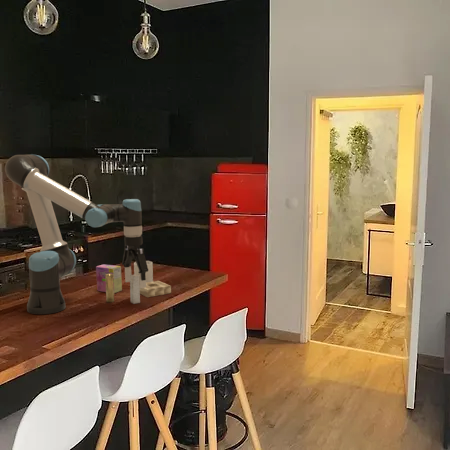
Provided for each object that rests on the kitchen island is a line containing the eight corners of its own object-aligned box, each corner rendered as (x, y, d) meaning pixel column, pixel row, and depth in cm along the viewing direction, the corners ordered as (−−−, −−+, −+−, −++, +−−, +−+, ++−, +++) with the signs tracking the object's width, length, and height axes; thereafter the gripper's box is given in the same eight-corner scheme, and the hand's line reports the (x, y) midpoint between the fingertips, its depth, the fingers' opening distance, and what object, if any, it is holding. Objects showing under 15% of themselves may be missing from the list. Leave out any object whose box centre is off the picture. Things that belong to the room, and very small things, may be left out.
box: (96, 291, 249) (95, 266, 247) (104, 288, 254) (103, 263, 252) (114, 293, 244) (113, 268, 242) (122, 290, 249) (121, 266, 247)
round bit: (108, 302, 229) (107, 275, 227) (105, 301, 231) (104, 274, 230) (115, 301, 231) (114, 274, 229) (112, 300, 233) (111, 273, 232)
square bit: (133, 303, 227) (132, 276, 226) (130, 302, 230) (129, 275, 228) (140, 302, 229) (139, 275, 227) (136, 301, 231) (136, 274, 230)
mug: (149, 287, 254) (148, 265, 252) (131, 287, 256) (131, 264, 254) (157, 281, 265) (157, 260, 264) (140, 281, 267) (140, 259, 266)
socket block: (147, 297, 237) (147, 289, 237) (135, 291, 247) (135, 284, 246) (171, 293, 244) (170, 285, 244) (158, 287, 254) (158, 280, 253)
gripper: (155, 238, 217) (157, 288, 220) (128, 231, 237) (130, 278, 240) (138, 240, 213) (140, 291, 216) (112, 233, 233) (115, 280, 236)
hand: (135, 284), depth 228 cm, fingers open, 13 cm apart
